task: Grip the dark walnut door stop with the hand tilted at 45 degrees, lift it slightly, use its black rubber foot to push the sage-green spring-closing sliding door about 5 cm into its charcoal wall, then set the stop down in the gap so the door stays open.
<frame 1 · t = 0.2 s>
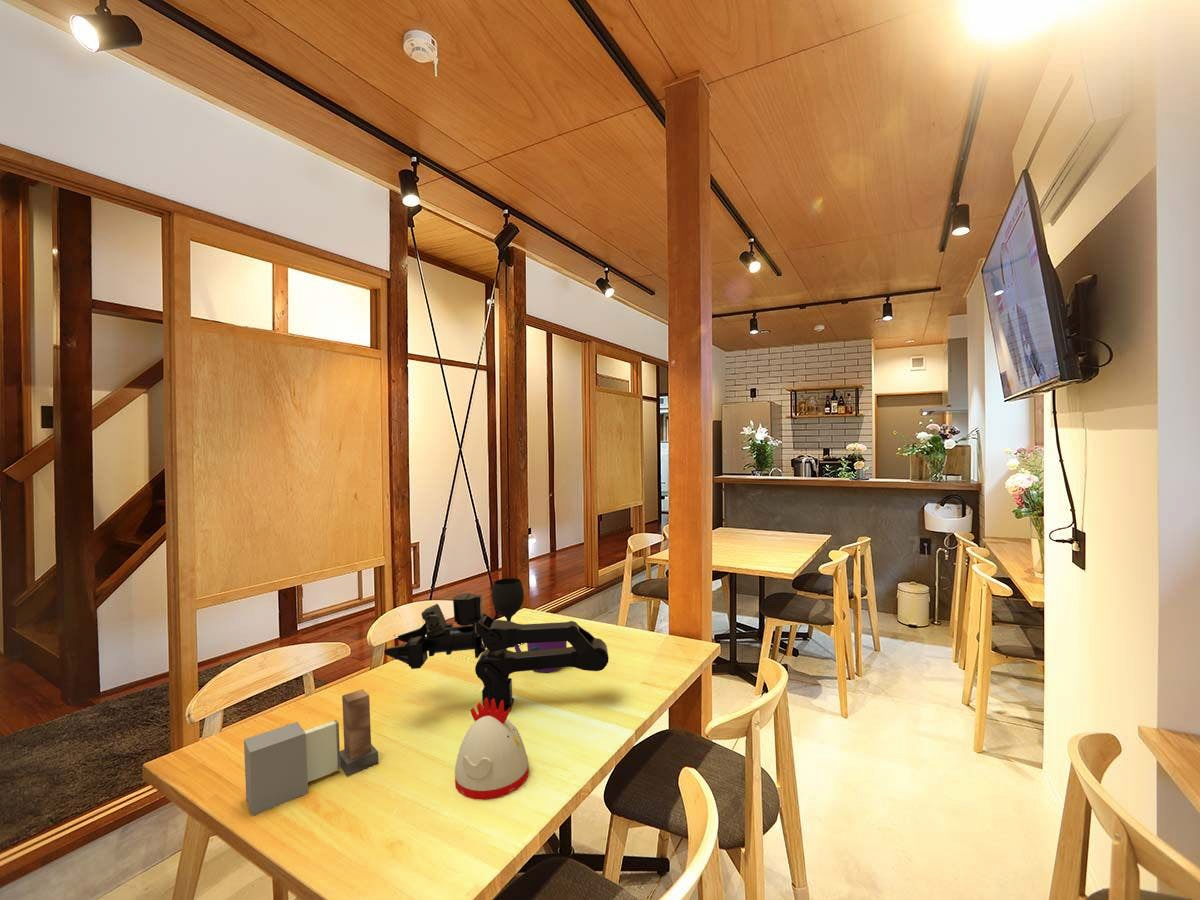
hand: (391, 644, 130), 17 cm above the table, tool horizontal, fingers open, 9 cm apart
mug: (539, 665, 156), on the table
kitchen timer: (492, 777, 103), on the table
door stop: (358, 763, 109), on the table
pocket wall: (291, 790, 101), on the table
wine glass: (509, 642, 176), on the table
pocket door: (316, 752, 104), point 5 cm above the table, slide at 0.0 cm
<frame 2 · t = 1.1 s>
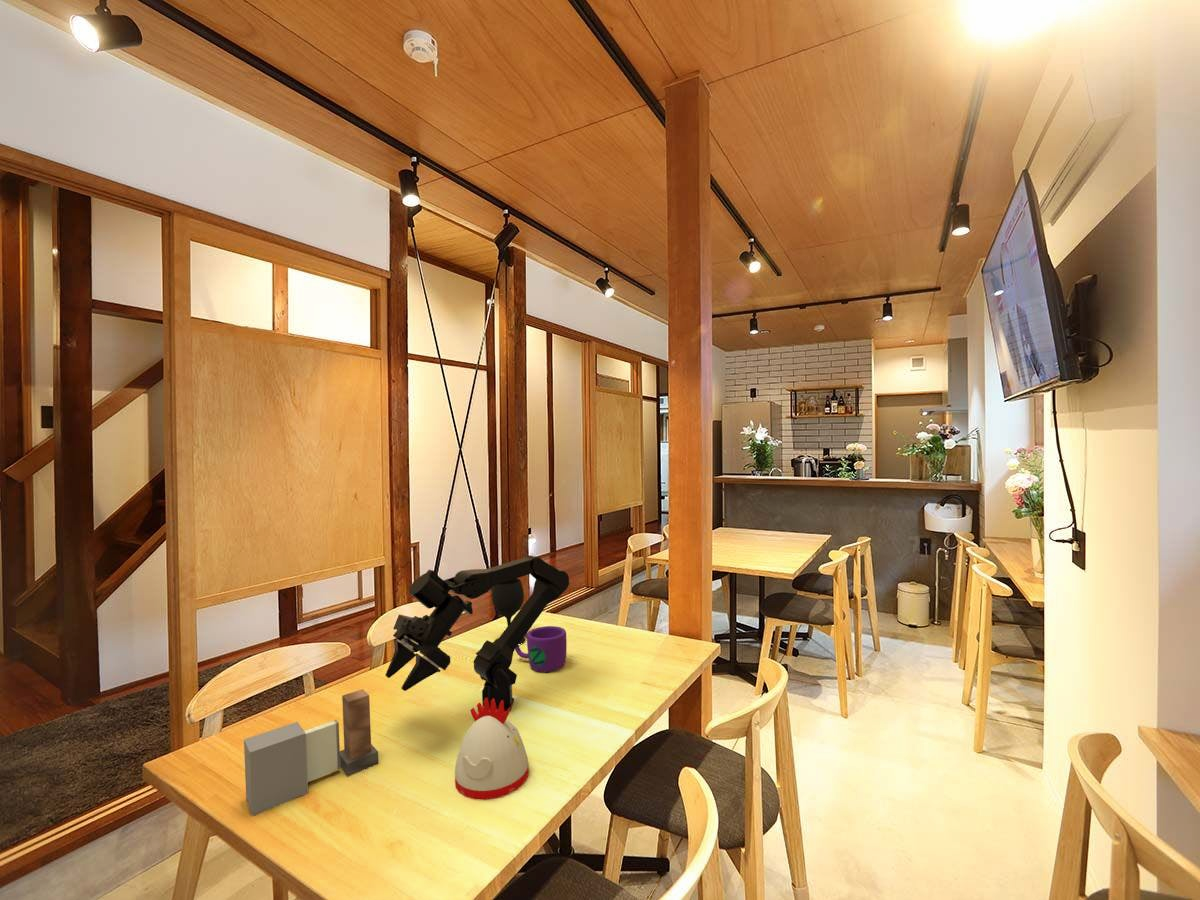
hand: (394, 683, 114), 14 cm above the table, tool tilted 45°, fingers open, 9 cm apart
nothing on the table moved.
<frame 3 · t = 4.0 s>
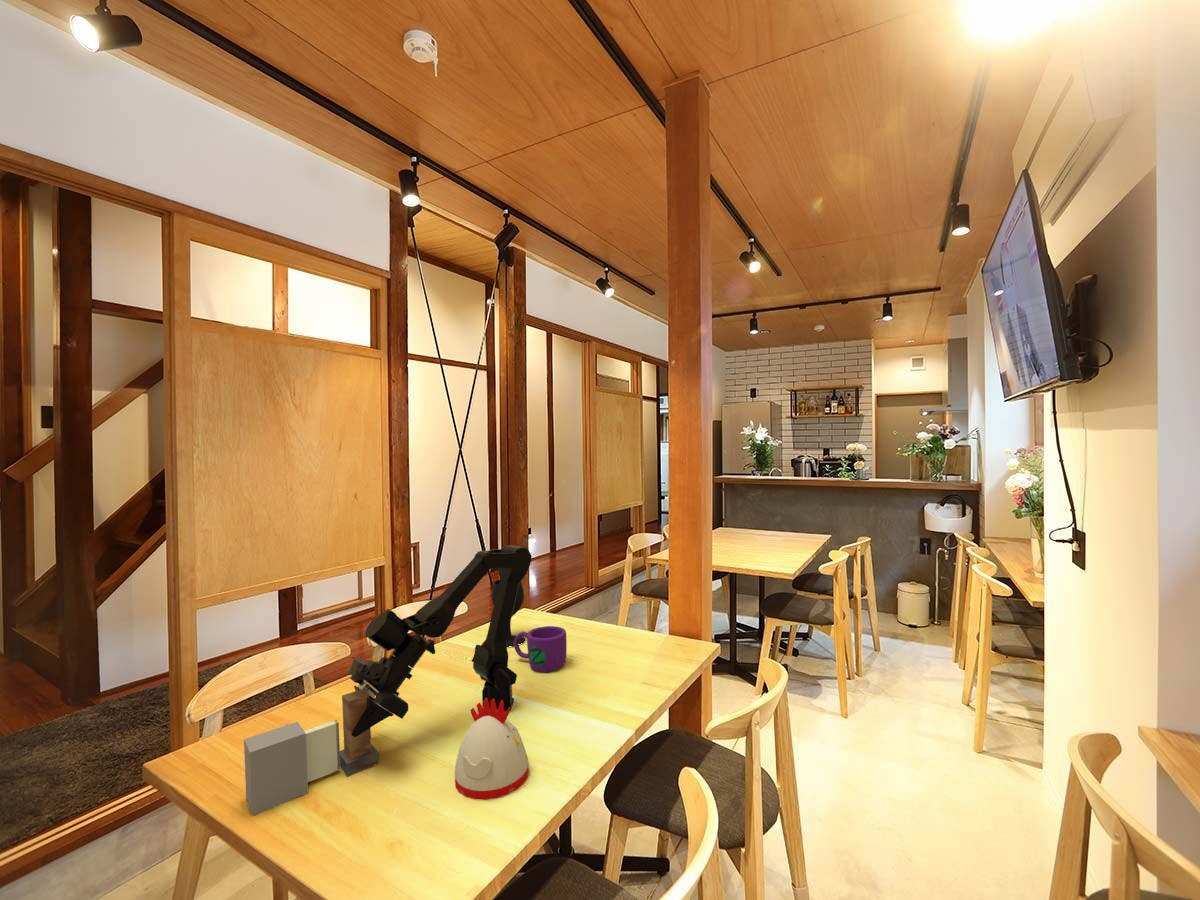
hand: (349, 732, 108), 7 cm above the table, tool tilted 45°, fingers closed on door stop, 4 cm apart
door stop: (358, 763, 109), on the table, touching gripper
everything else where it was.
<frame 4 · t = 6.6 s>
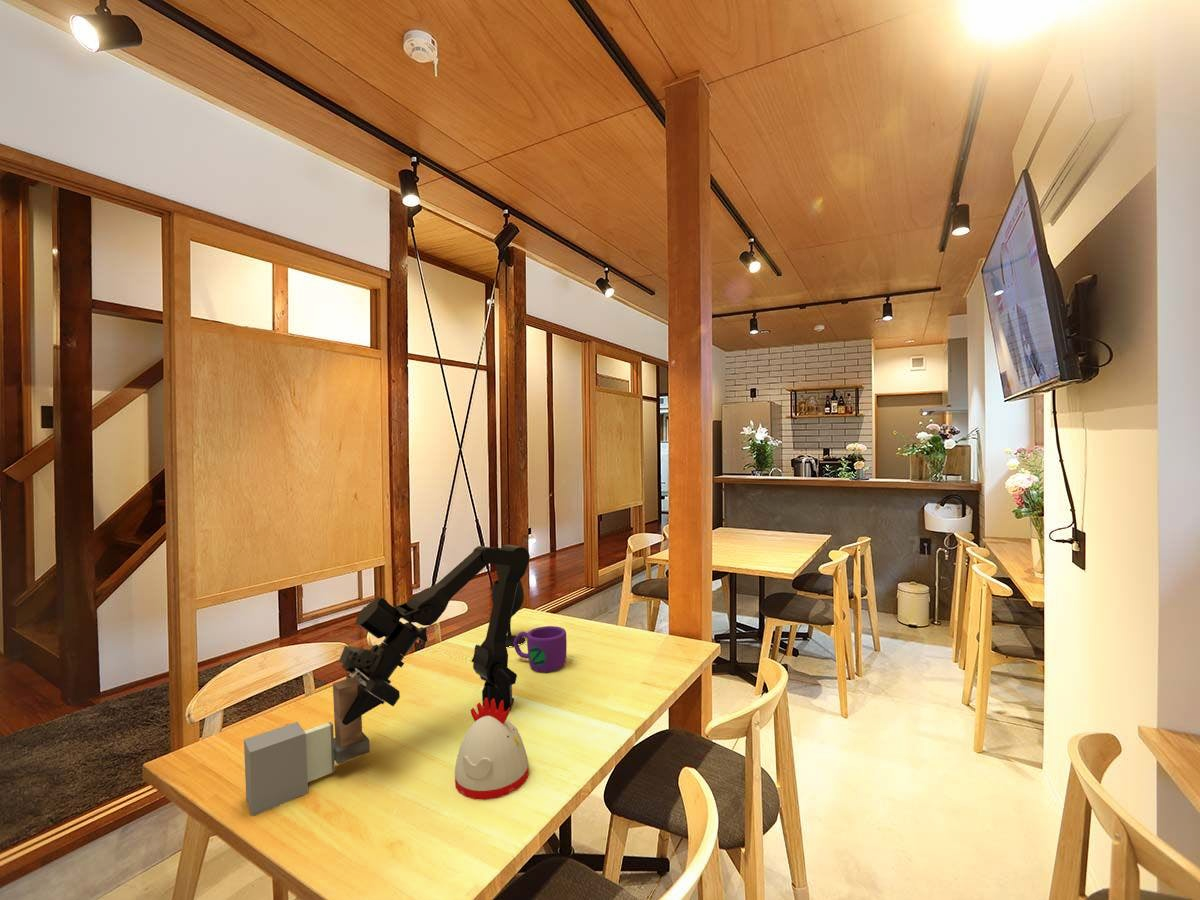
hand: (340, 720, 107), 10 cm above the table, tool tilted 45°, fingers closed on door stop, 4 cm apart
door stop: (349, 752, 108), point 3 cm above the table, touching gripper, pocket door
pocket door: (310, 754, 103), point 5 cm above the table, slide at 1.0 cm, touching door stop
everything else where it was.
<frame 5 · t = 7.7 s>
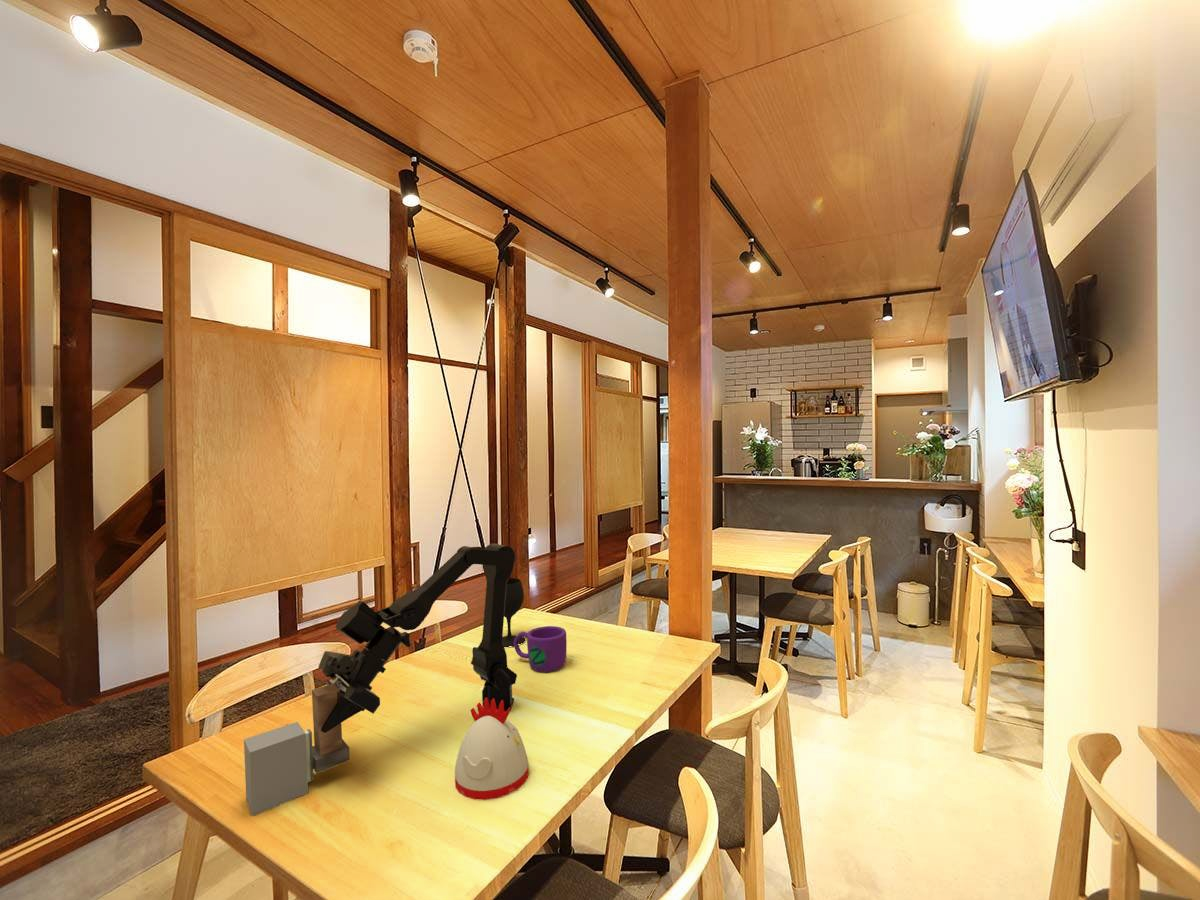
hand: (319, 727, 104), 10 cm above the table, tool tilted 45°, fingers closed on door stop, 4 cm apart
door stop: (329, 760, 105), point 3 cm above the table, touching gripper
pocket door: (288, 762, 100), point 5 cm above the table, slide at 4.8 cm
everything else where it was.
when the fingers open (7 cm above the table, at t = 9.2 s): door stop stays where it is, on the table.
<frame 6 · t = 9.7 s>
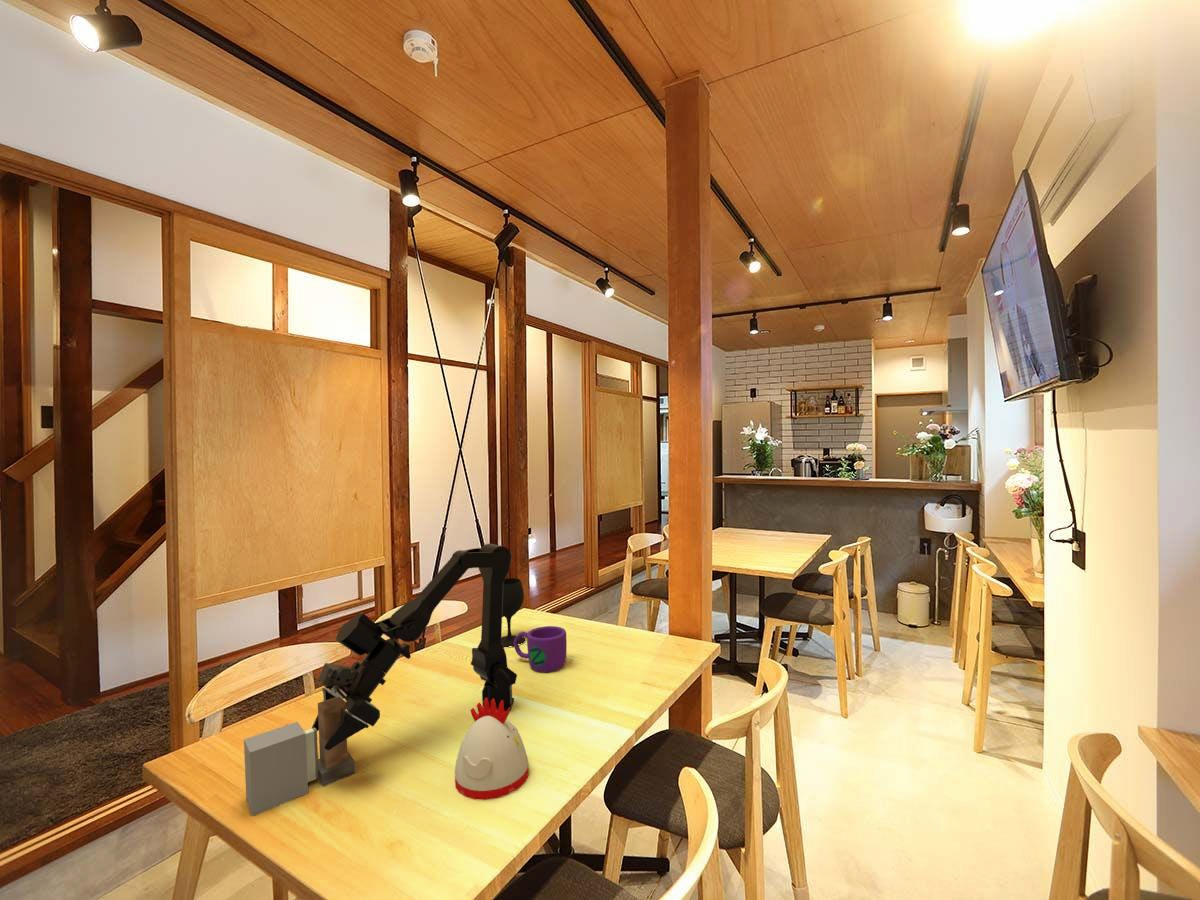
hand: (319, 740, 104), 8 cm above the table, tool tilted 45°, fingers open, 9 cm apart
door stop: (334, 773, 106), on the table
pocket door: (293, 761, 101), point 5 cm above the table, slide at 3.9 cm
everything else where it was.
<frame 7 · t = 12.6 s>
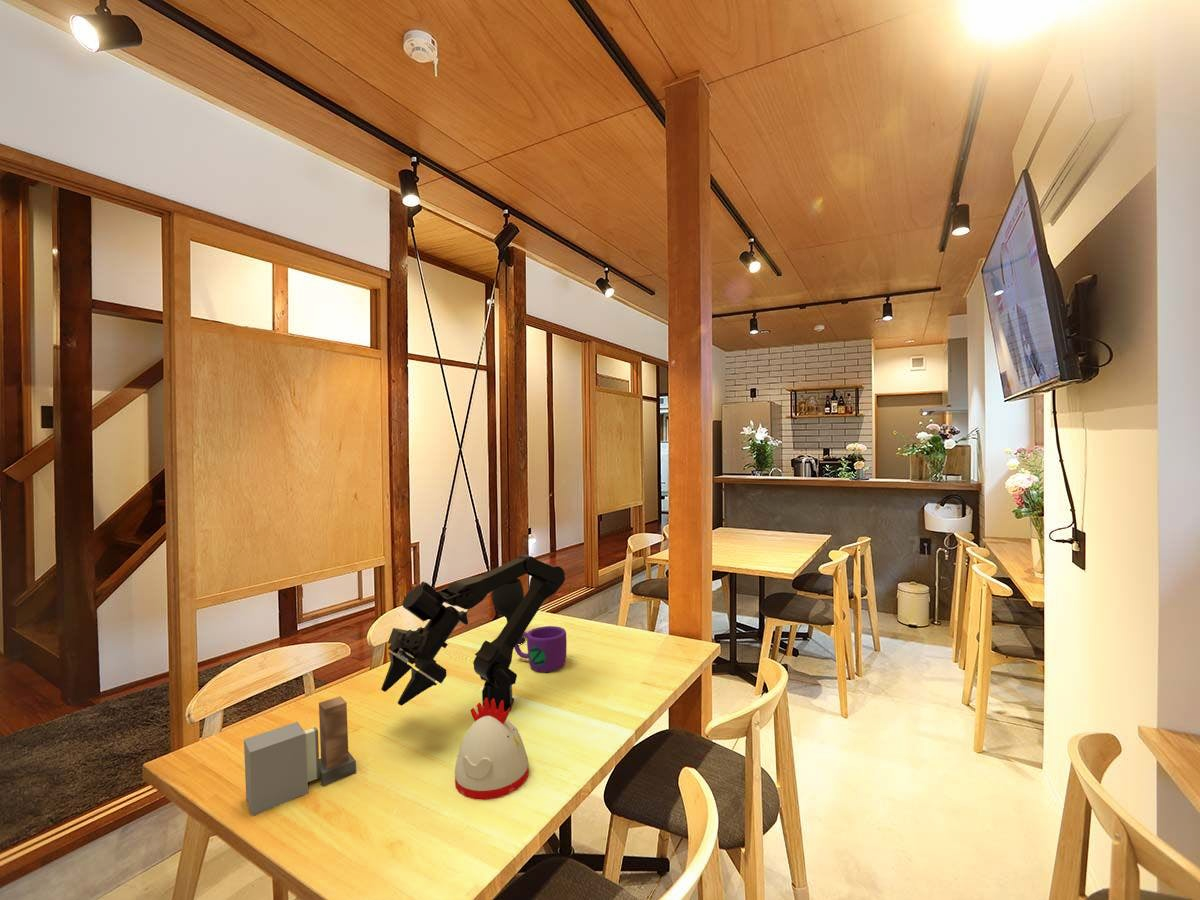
hand: (390, 697, 113), 11 cm above the table, tool tilted 45°, fingers open, 9 cm apart
door stop: (335, 773, 106), on the table, touching pocket door
pocket door: (294, 760, 101), point 5 cm above the table, slide at 3.8 cm, touching door stop
everything else where it was.
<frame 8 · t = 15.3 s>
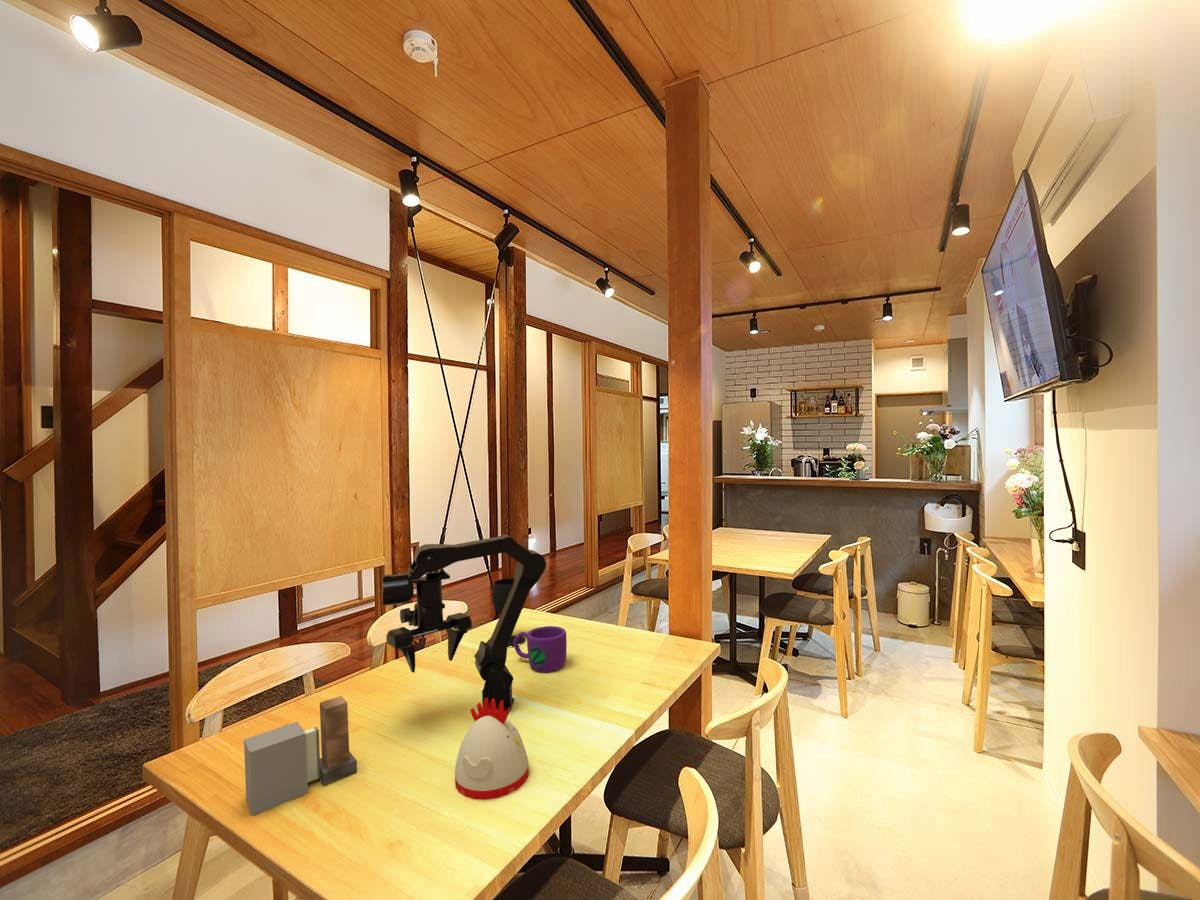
hand: (432, 666, 125), 13 cm above the table, tool pointing down, fingers open, 9 cm apart
nothing on the table moved.
at the end: pocket door slide at 3.6 cm; door stop tilted 0°; the gripper is holding nothing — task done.
